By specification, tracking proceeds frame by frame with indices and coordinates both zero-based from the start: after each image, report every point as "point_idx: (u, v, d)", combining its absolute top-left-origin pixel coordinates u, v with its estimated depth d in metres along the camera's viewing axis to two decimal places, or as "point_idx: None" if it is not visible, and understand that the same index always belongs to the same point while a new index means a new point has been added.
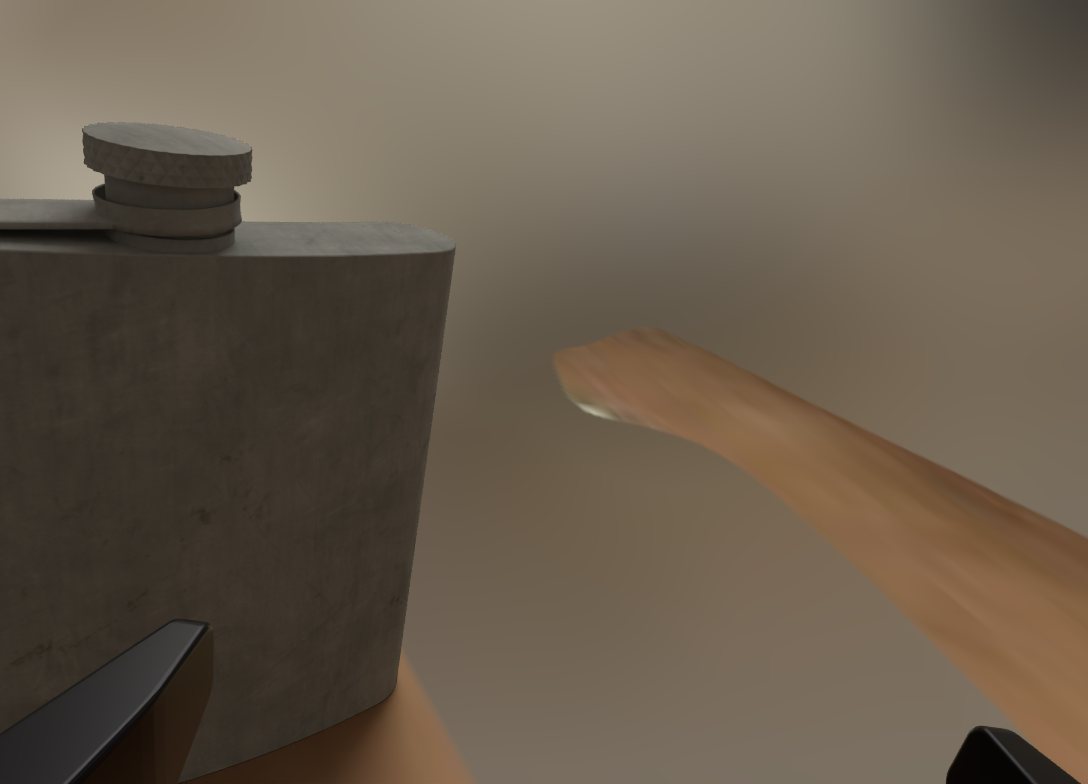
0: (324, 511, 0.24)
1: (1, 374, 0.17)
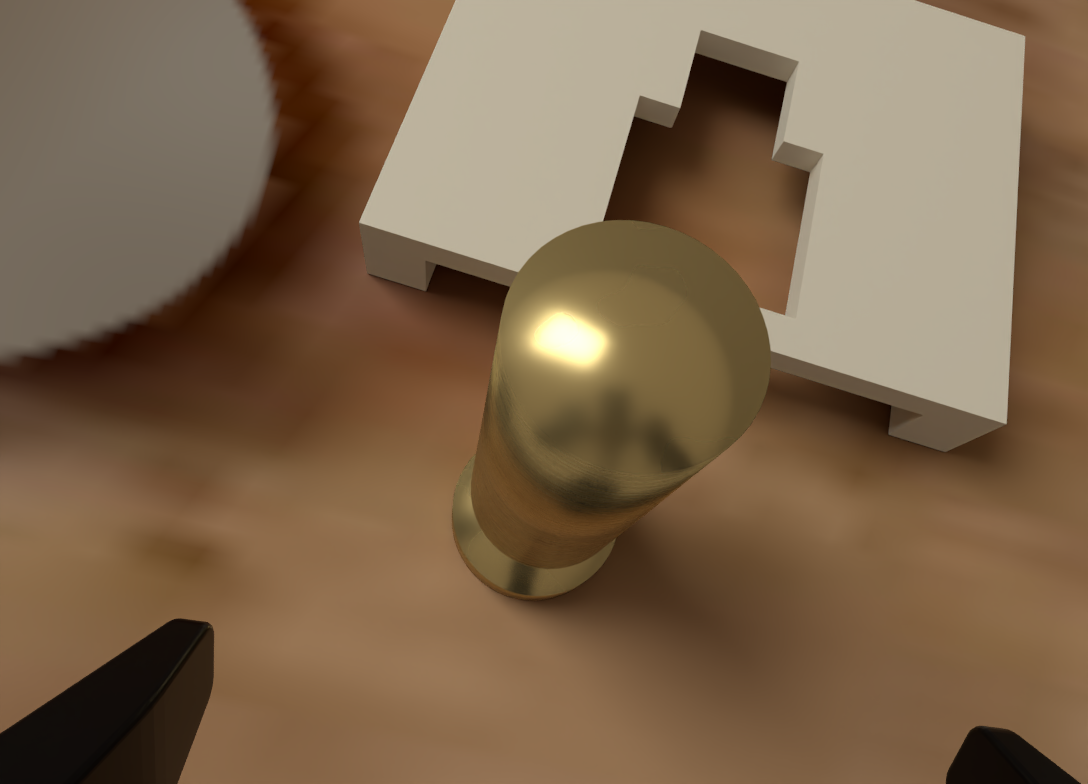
0: None
1: None
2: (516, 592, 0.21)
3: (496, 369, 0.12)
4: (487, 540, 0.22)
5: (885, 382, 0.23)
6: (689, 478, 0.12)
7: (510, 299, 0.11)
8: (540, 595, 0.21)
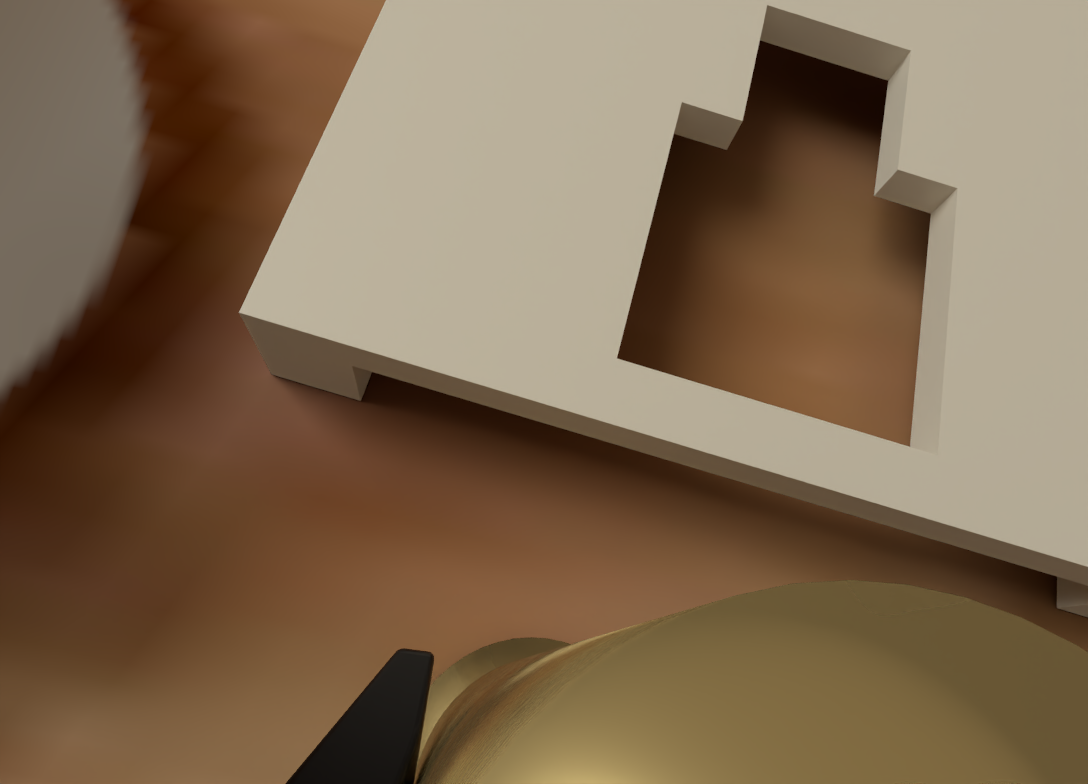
0: None
1: None
2: None
3: None
4: None
5: (1084, 558, 0.15)
6: None
7: None
8: None
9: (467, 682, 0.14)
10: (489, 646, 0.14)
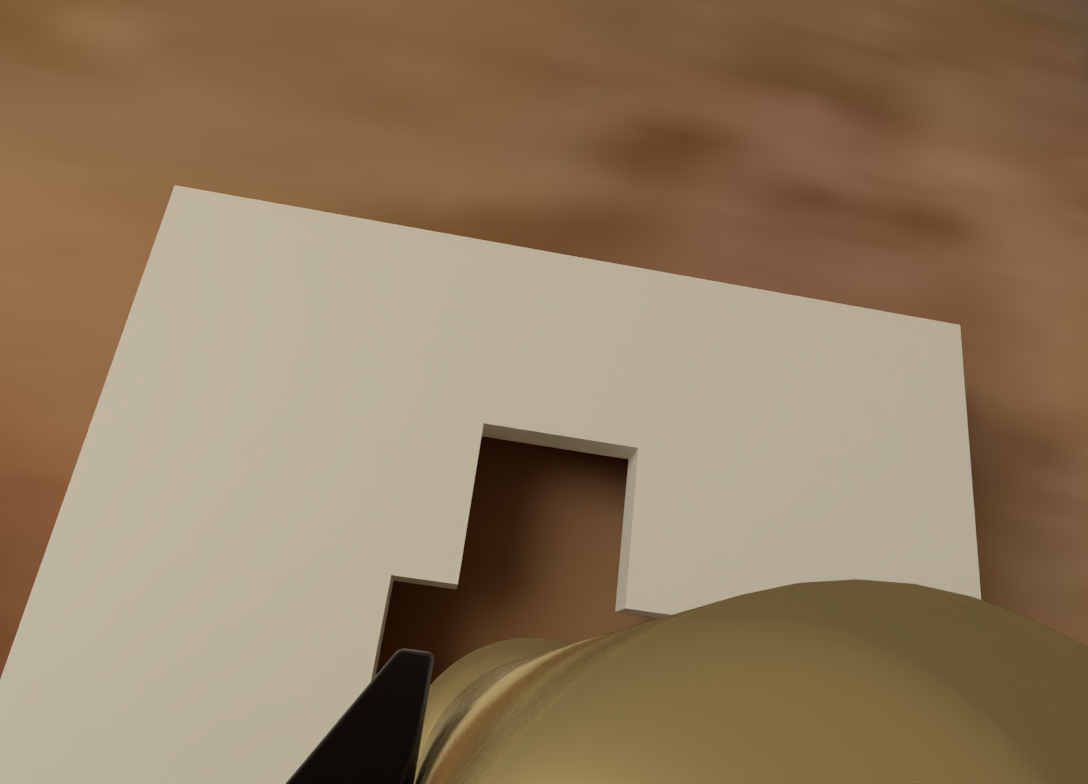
0: None
1: None
2: None
3: None
4: None
5: None
6: None
7: None
8: None
9: (466, 682, 0.14)
10: (488, 646, 0.14)
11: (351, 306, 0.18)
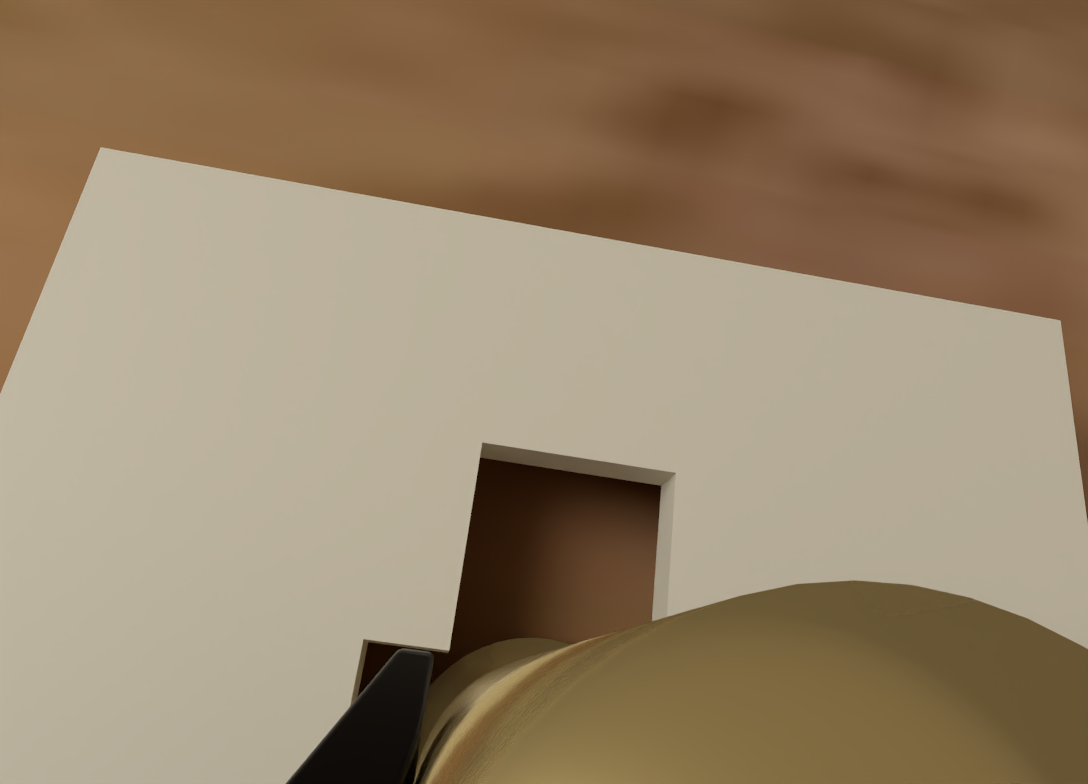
0: None
1: None
2: None
3: None
4: None
5: None
6: None
7: None
8: None
9: (466, 682, 0.14)
10: (488, 646, 0.14)
11: (318, 296, 0.15)
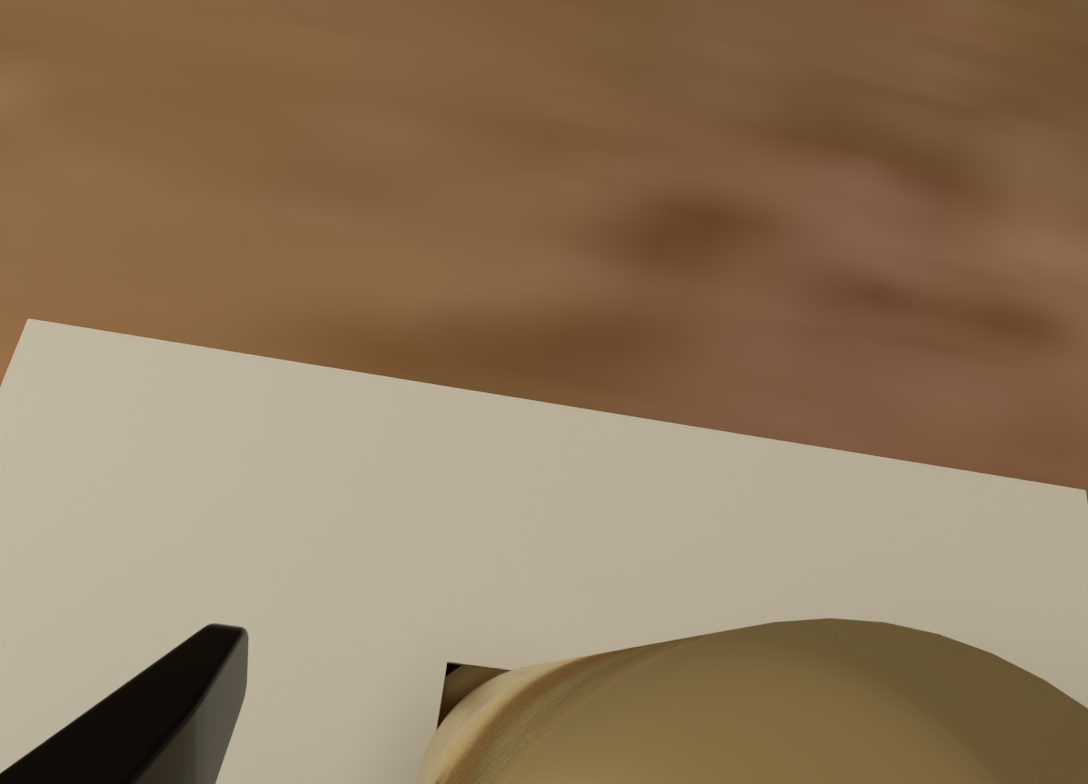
0: None
1: None
2: None
3: None
4: None
5: None
6: None
7: None
8: None
9: (467, 689, 0.14)
10: None
11: (266, 490, 0.13)
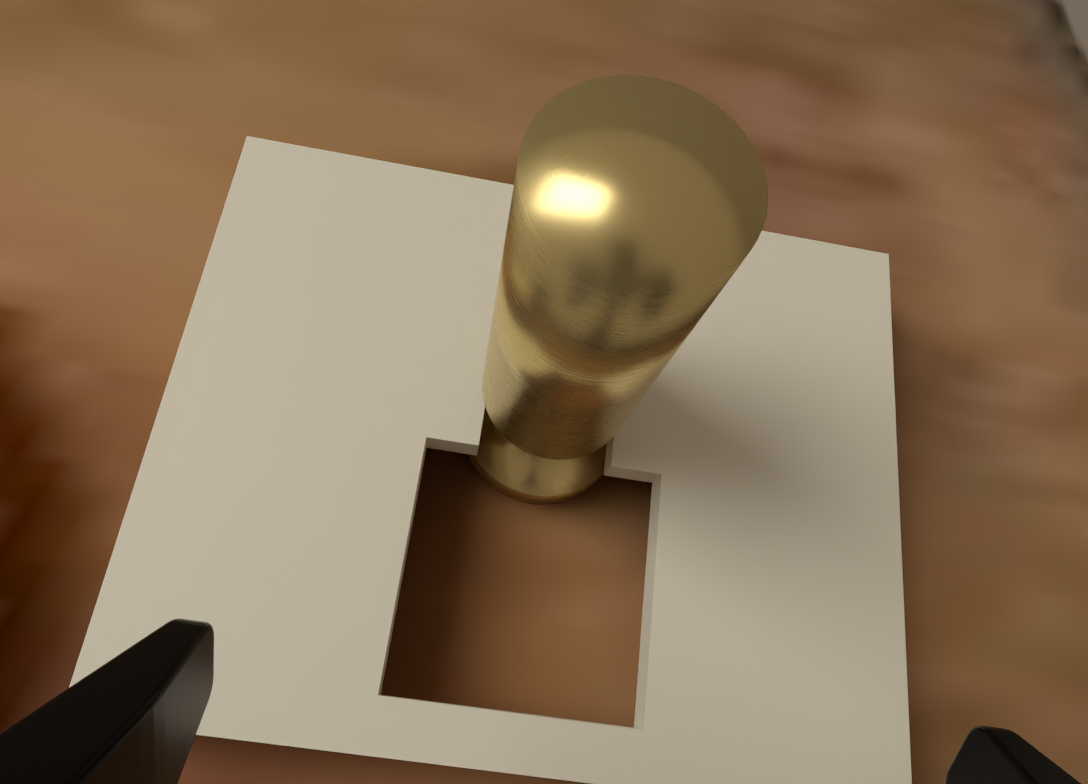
0: None
1: None
2: (525, 492, 0.22)
3: (513, 211, 0.13)
4: (497, 444, 0.23)
5: None
6: (692, 319, 0.13)
7: (527, 140, 0.12)
8: (548, 495, 0.22)
9: None
10: None
11: (391, 232, 0.23)
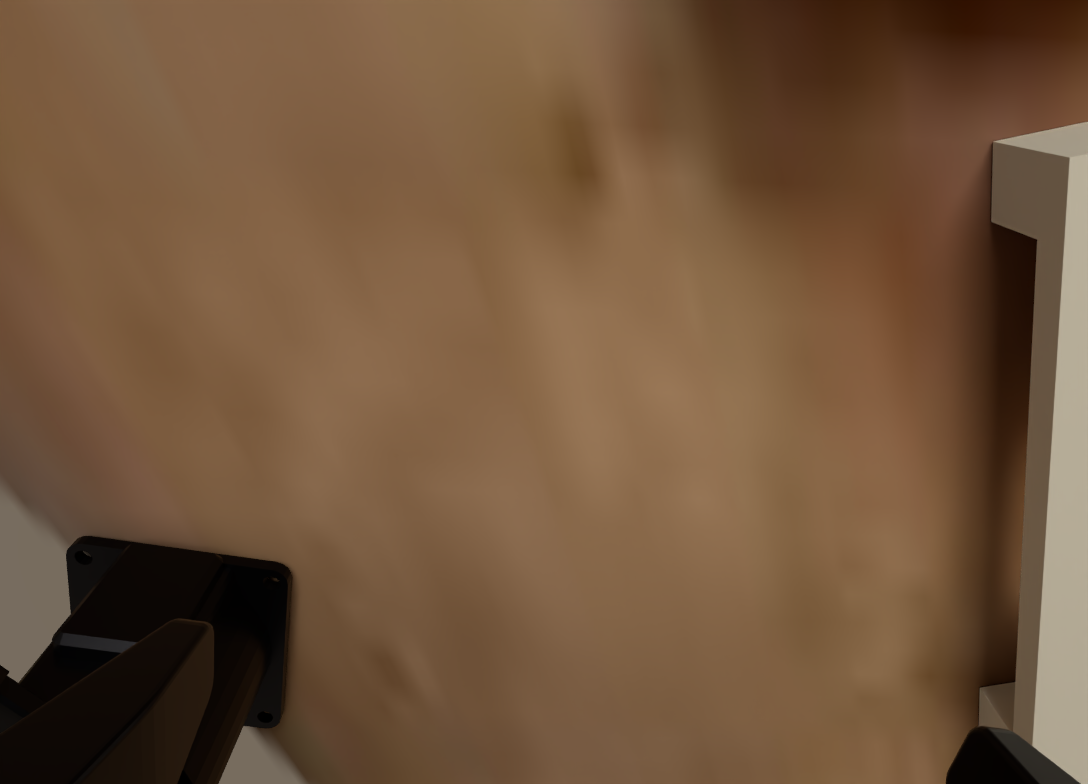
0: None
1: None
2: None
3: None
4: None
5: (1038, 717, 0.23)
6: None
7: None
8: None
9: None
10: None
11: None
